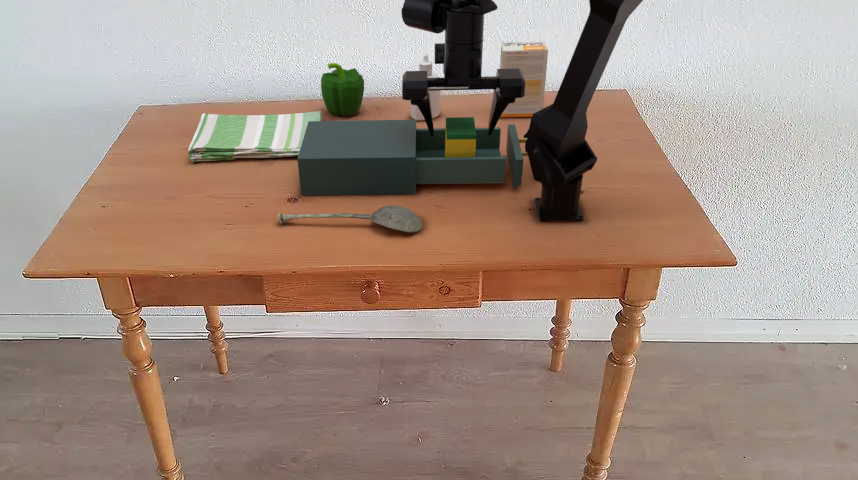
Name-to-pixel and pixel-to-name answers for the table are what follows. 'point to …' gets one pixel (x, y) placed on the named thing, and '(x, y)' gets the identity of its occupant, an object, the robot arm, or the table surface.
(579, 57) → the robot arm
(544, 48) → the supplement box
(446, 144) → the sponge
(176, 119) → the table surface
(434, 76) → the eye dropper bottle
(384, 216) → the soupspoon
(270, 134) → the dish towel
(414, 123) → the cabinet
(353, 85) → the bell pepper
